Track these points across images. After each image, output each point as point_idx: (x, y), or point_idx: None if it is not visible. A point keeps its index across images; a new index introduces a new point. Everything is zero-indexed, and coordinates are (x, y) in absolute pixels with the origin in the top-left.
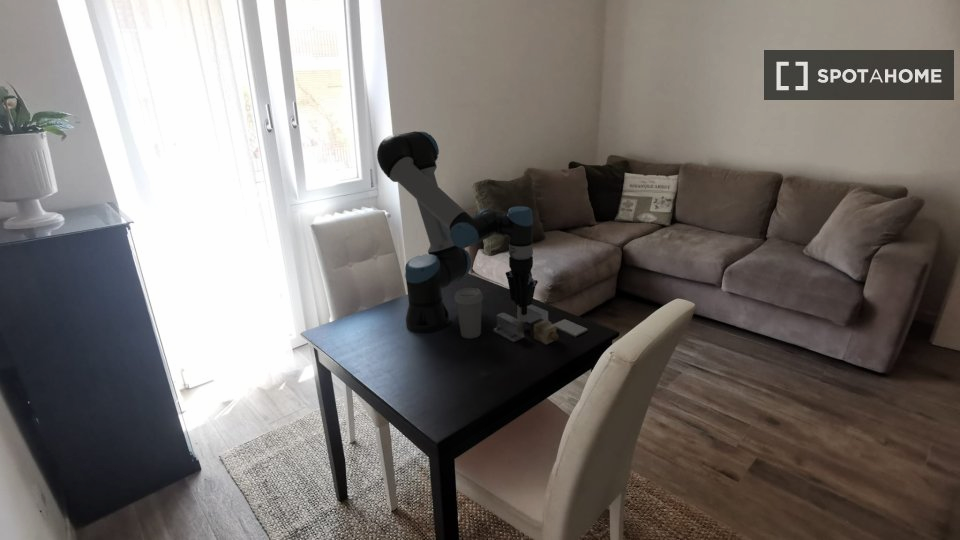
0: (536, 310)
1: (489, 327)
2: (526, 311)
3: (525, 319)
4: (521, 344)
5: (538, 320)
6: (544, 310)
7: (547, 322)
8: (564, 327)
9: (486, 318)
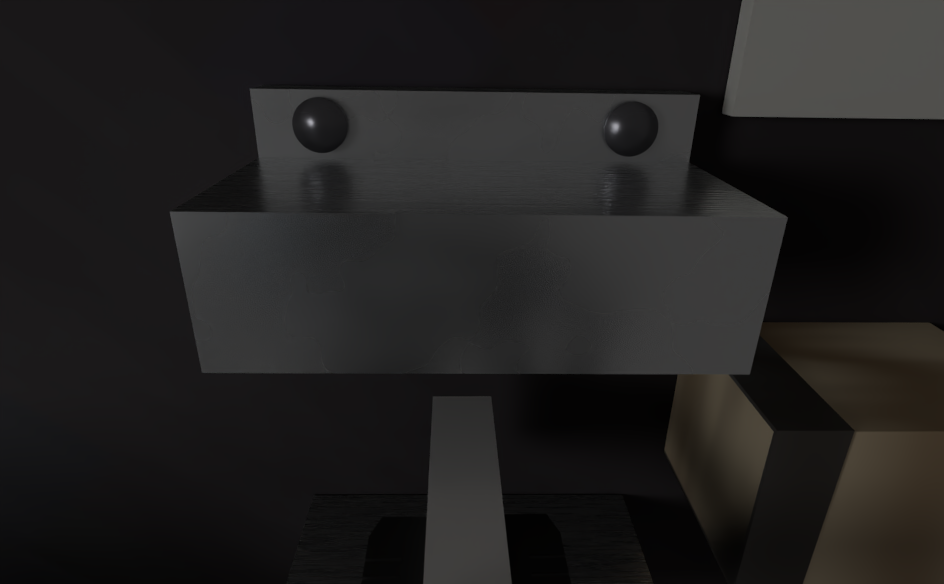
0: (577, 332)
1: (232, 576)
2: (564, 569)
3: (492, 428)
4: (685, 574)
5: (790, 491)
6: (703, 235)
7: (935, 443)
8: (924, 52)
9: (27, 498)
